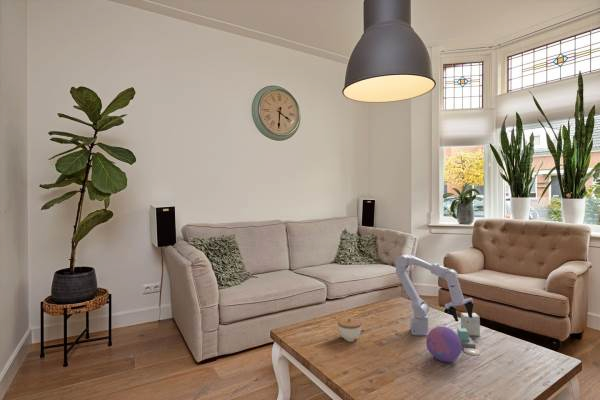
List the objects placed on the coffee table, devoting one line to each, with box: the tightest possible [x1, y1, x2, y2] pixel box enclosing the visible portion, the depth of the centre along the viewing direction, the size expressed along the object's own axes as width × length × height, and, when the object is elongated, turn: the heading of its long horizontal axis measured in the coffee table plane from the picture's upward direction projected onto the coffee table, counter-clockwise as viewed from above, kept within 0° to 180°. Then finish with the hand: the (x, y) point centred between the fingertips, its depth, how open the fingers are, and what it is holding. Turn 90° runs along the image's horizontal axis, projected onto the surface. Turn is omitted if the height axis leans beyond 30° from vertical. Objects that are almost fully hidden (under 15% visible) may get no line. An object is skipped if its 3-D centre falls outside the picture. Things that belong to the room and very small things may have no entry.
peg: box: [456, 327, 469, 342], centre depth 167 cm, size 4×4×7 cm
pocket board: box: [461, 335, 476, 349], centre depth 168 cm, size 18×10×2 cm, turn 79°
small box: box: [460, 312, 481, 336], centre depth 178 cm, size 8×6×10 cm
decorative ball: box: [425, 326, 463, 363], centre depth 151 cm, size 15×15×15 cm
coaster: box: [463, 348, 480, 356], centre depth 158 cm, size 7×7×1 cm
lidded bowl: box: [337, 316, 362, 341], centre depth 175 cm, size 13×13×11 cm
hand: (463, 319), depth 168 cm, fingers open, 7 cm apart
